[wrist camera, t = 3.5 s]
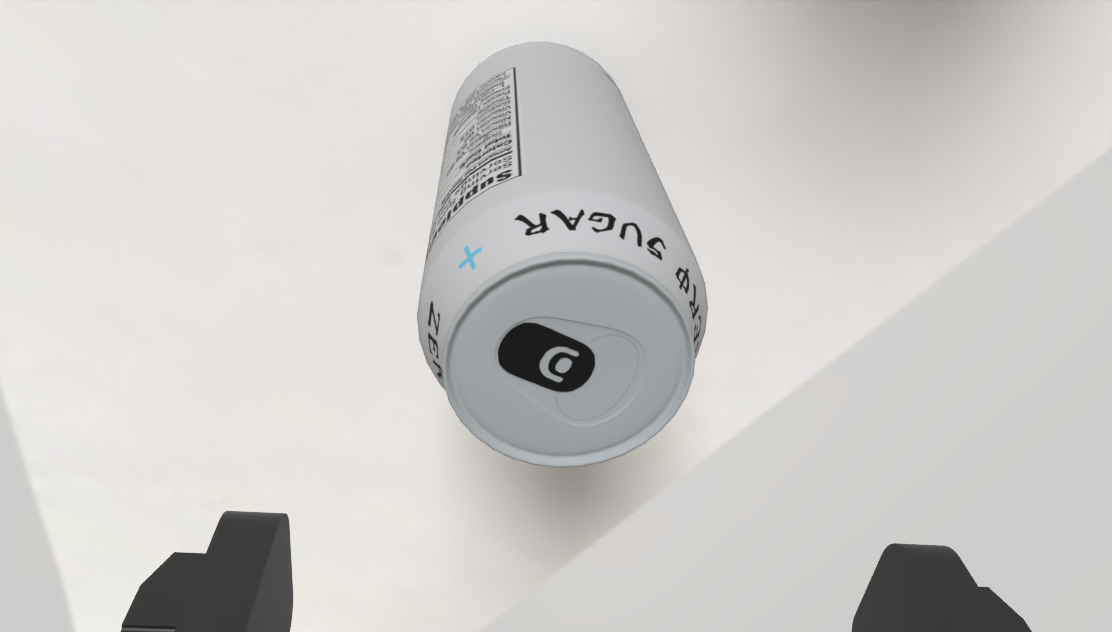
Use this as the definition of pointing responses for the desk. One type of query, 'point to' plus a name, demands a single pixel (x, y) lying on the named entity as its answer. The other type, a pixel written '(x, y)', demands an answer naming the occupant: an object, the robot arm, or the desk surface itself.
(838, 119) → the desk surface
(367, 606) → the desk surface
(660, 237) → the energy drink can
